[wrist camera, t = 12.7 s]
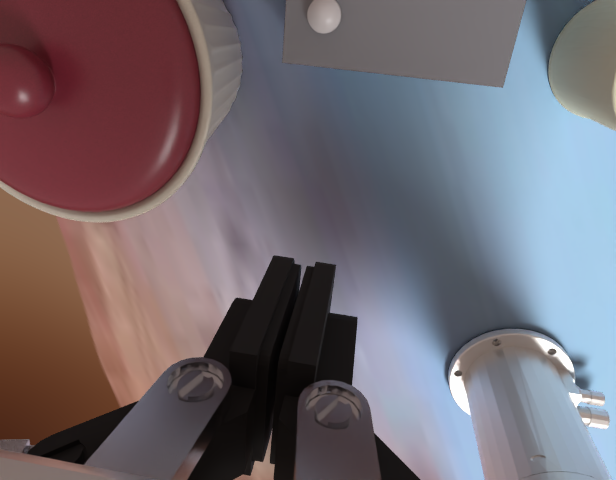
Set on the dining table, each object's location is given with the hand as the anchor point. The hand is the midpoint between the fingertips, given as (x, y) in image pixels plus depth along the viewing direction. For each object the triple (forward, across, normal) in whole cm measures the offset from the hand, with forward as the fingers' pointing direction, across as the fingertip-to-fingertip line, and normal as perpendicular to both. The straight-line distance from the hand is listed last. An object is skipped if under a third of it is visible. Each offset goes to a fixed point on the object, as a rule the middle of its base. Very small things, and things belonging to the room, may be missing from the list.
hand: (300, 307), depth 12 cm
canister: (+31, +17, -3) cm, 36 cm away
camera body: (+31, -2, -9) cm, 32 cm away
